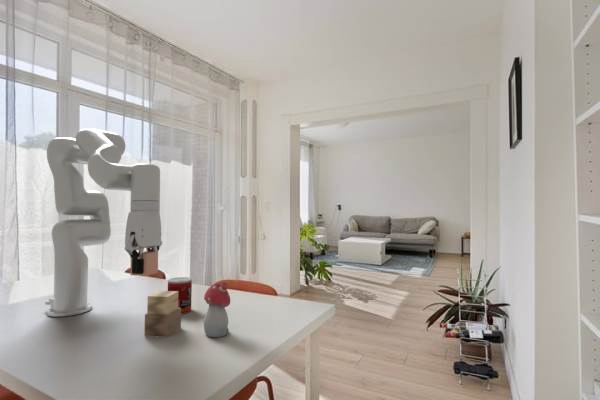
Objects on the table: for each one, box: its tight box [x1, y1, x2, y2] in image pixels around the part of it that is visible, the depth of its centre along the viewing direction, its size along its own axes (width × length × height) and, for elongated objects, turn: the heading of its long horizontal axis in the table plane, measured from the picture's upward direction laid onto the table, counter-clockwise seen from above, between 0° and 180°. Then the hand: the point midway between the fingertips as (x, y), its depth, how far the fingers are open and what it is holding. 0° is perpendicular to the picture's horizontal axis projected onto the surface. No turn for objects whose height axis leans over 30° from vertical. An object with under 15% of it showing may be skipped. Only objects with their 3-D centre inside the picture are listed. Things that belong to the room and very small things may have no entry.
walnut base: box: [144, 308, 182, 338], centre depth 92 cm, size 7×7×6 cm
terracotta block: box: [129, 250, 159, 277], centre depth 90 cm, size 5×5×6 cm
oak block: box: [146, 290, 178, 315], centre depth 92 cm, size 6×6×5 cm
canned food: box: [167, 276, 193, 315], centre depth 110 cm, size 8×8×11 cm
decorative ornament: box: [203, 281, 231, 338], centre depth 90 cm, size 9×7×15 cm
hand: (144, 270), depth 90 cm, fingers closed on terracotta block, 5 cm apart
